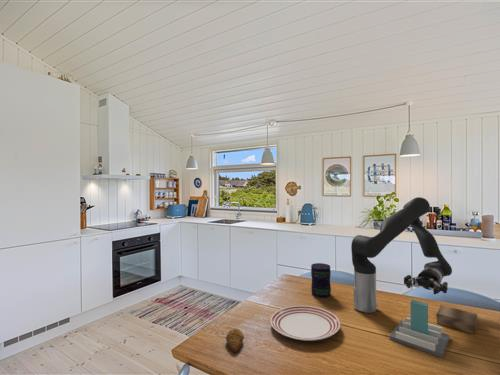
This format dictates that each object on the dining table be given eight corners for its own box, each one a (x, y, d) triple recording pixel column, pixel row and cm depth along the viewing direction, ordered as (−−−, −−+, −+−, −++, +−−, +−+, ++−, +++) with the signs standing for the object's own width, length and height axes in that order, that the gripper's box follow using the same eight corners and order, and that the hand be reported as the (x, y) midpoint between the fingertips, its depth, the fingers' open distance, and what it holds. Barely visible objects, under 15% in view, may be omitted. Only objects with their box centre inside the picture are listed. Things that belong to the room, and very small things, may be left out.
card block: (410, 334, 100) (410, 301, 100) (412, 331, 102) (412, 299, 102) (426, 339, 97) (426, 305, 97) (428, 336, 99) (427, 303, 98)
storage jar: (310, 290, 146) (310, 262, 146) (329, 291, 145) (328, 263, 145) (312, 298, 136) (311, 268, 136) (332, 298, 135) (331, 269, 135)
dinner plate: (262, 340, 101) (261, 331, 101) (279, 308, 126) (279, 301, 126) (339, 354, 91) (339, 344, 91) (341, 316, 117) (341, 309, 117)
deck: (436, 323, 110) (436, 313, 110) (441, 314, 117) (440, 305, 117) (475, 334, 102) (474, 323, 101) (477, 323, 109) (477, 313, 109)
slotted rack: (389, 339, 99) (389, 330, 99) (401, 323, 110) (401, 315, 110) (442, 357, 88) (442, 347, 88) (449, 337, 99) (449, 329, 99)
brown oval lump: (226, 333, 106) (226, 320, 106) (244, 332, 106) (243, 320, 106) (224, 355, 92) (224, 340, 92) (244, 354, 92) (244, 340, 92)
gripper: (410, 265, 119) (400, 274, 107) (451, 272, 109) (444, 283, 97) (411, 282, 119) (400, 293, 107) (451, 291, 109) (444, 304, 97)
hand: (421, 288), depth 102 cm, fingers open, 8 cm apart
